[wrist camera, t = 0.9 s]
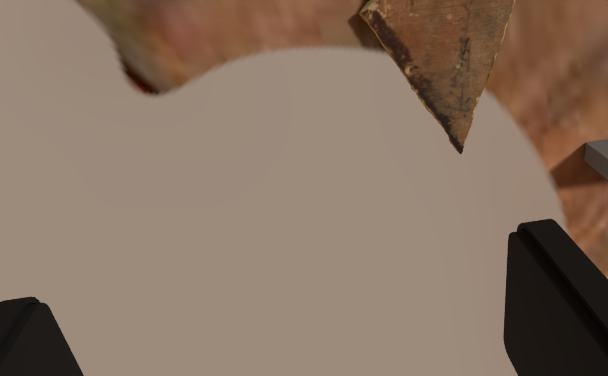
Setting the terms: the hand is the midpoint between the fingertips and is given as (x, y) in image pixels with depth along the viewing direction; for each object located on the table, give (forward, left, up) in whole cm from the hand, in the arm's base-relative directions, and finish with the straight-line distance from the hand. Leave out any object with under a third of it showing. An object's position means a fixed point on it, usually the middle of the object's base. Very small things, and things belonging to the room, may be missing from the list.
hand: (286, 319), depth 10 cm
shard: (0, +10, -21) cm, 23 cm away
